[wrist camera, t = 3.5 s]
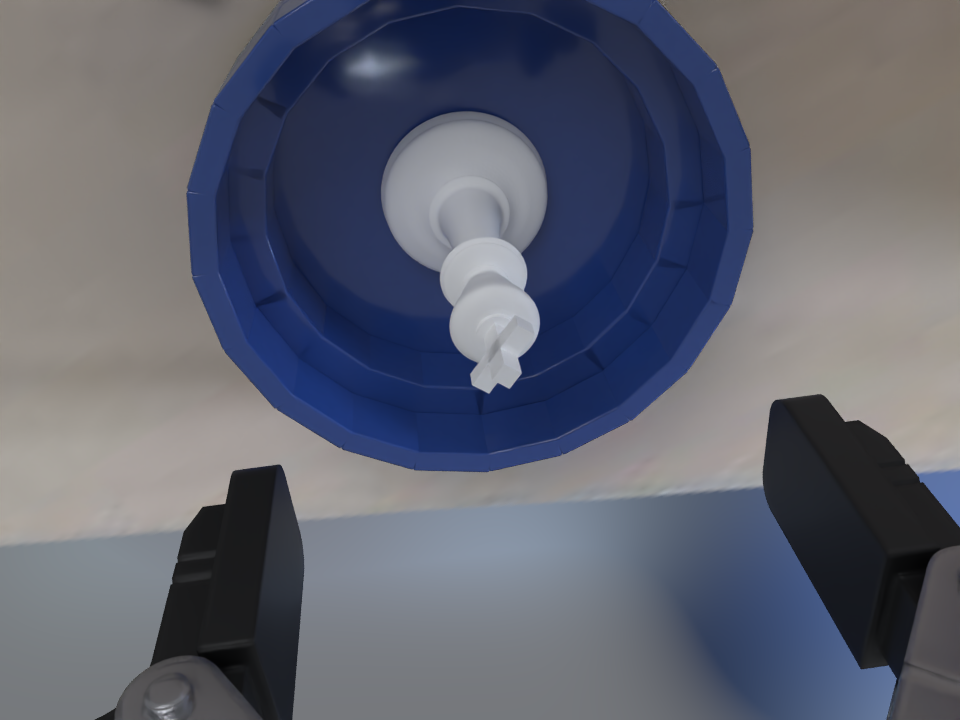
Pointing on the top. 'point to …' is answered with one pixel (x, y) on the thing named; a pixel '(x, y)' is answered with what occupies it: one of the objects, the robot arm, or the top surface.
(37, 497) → the top surface
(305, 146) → the bowl
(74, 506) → the top surface
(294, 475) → the top surface
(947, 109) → the top surface
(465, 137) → the chess piece
